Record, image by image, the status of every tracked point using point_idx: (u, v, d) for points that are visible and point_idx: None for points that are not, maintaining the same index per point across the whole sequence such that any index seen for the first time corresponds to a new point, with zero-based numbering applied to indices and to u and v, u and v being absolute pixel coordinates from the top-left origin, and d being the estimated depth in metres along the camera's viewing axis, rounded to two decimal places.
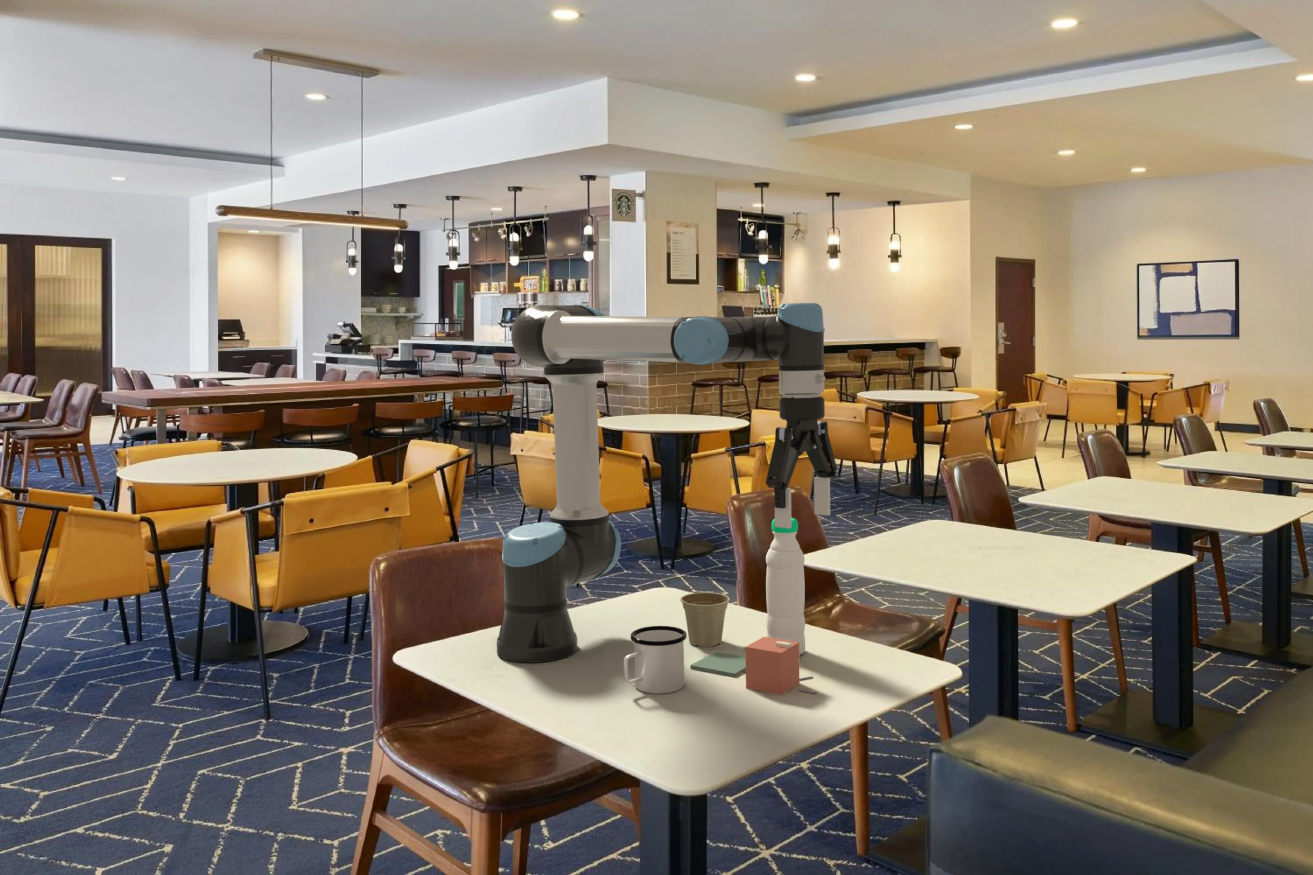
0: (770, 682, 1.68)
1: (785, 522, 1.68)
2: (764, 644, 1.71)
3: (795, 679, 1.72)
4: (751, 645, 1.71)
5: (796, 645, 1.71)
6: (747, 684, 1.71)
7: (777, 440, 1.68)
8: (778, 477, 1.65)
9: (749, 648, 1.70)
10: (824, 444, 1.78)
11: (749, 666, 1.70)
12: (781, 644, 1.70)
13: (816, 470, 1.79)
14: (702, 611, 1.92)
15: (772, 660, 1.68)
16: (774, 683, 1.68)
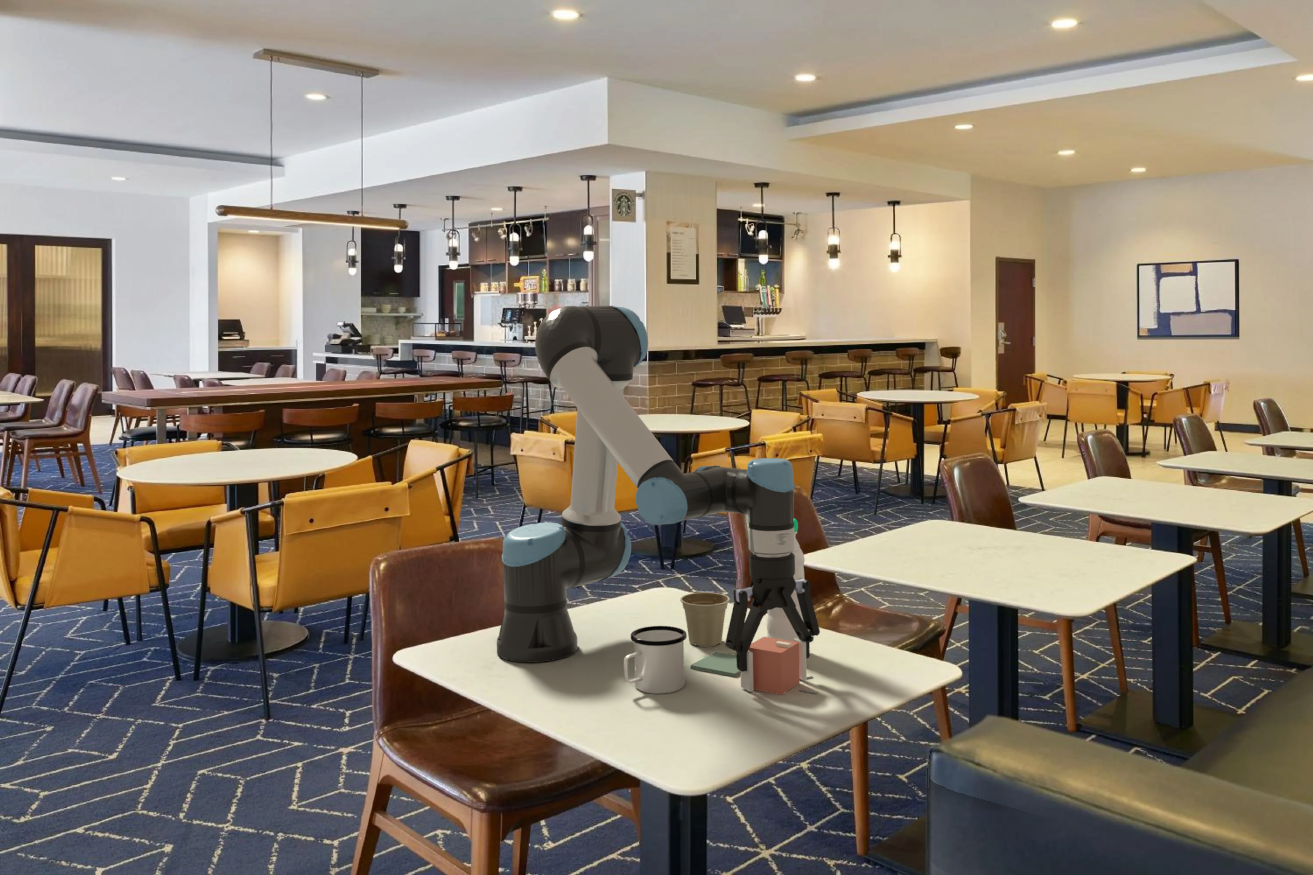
0: (770, 682, 1.68)
1: (747, 685, 1.69)
2: (764, 644, 1.71)
3: (795, 679, 1.72)
4: (751, 645, 1.71)
5: (796, 645, 1.71)
6: None
7: (735, 602, 1.68)
8: (733, 642, 1.67)
9: (749, 648, 1.70)
10: (804, 604, 1.73)
11: None
12: (781, 644, 1.70)
13: (795, 630, 1.74)
14: (702, 611, 1.92)
15: (772, 660, 1.68)
16: (774, 683, 1.68)
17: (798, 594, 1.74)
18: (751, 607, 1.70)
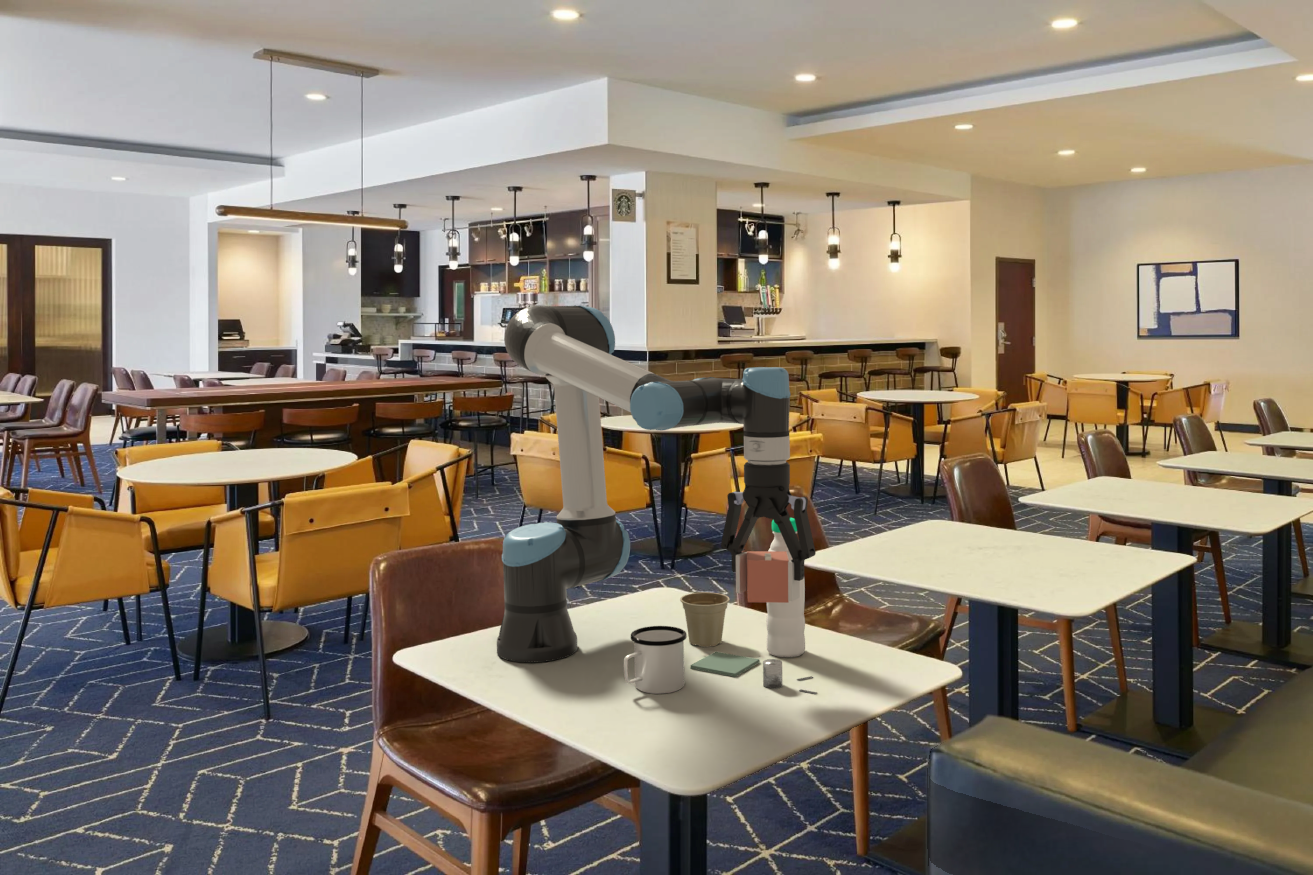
0: None
1: None
2: (763, 554, 1.72)
3: (779, 596, 1.68)
4: (753, 552, 1.73)
5: (782, 562, 1.67)
6: None
7: None
8: (722, 540, 1.74)
9: (747, 553, 1.73)
10: None
11: None
12: (764, 555, 1.69)
13: None
14: (701, 611, 1.92)
15: None
16: None
17: None
18: None
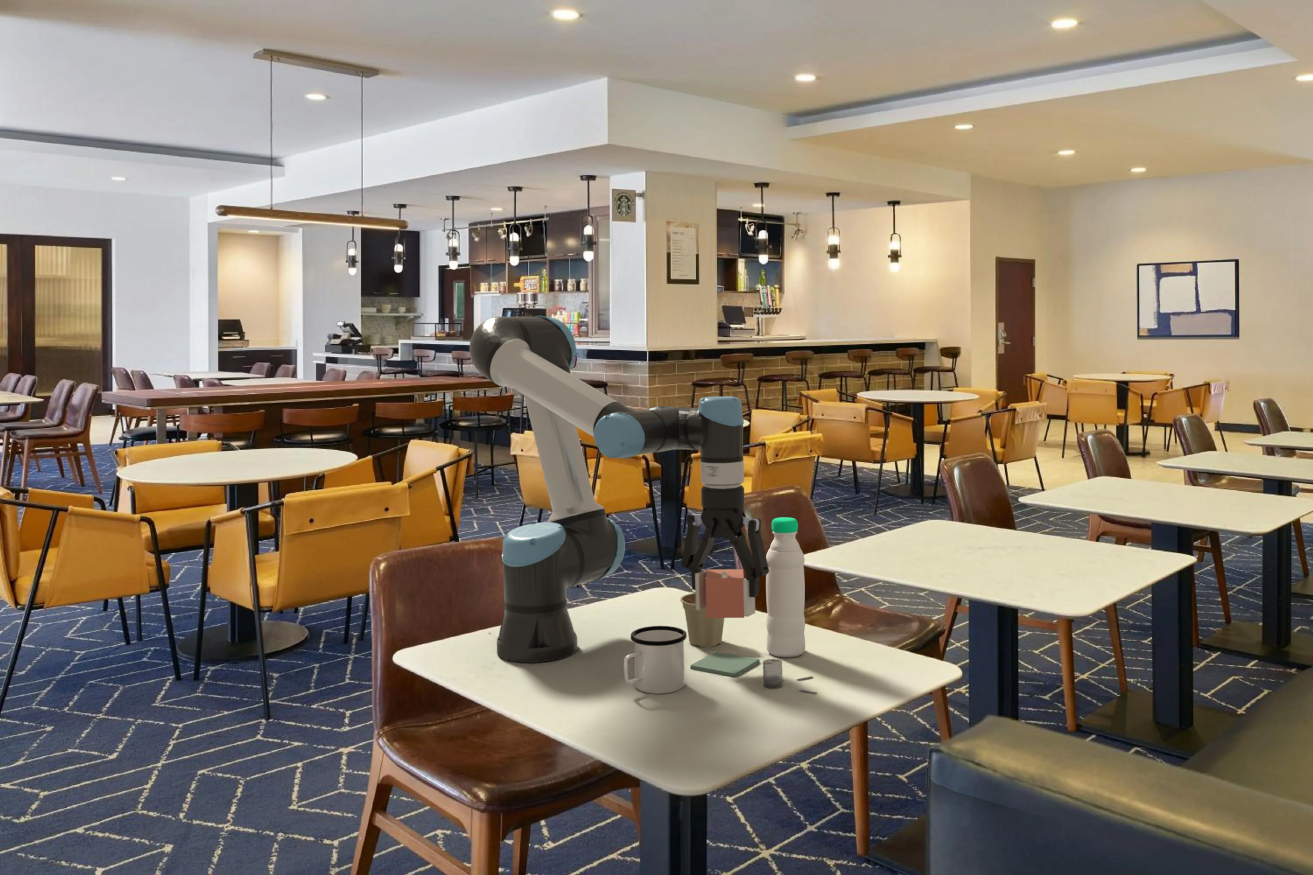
0: None
1: None
2: (721, 572, 1.82)
3: (735, 612, 1.78)
4: (712, 570, 1.84)
5: (738, 579, 1.78)
6: None
7: None
8: (682, 560, 1.84)
9: (706, 571, 1.84)
10: None
11: None
12: (721, 574, 1.79)
13: None
14: (702, 611, 1.92)
15: None
16: None
17: None
18: None
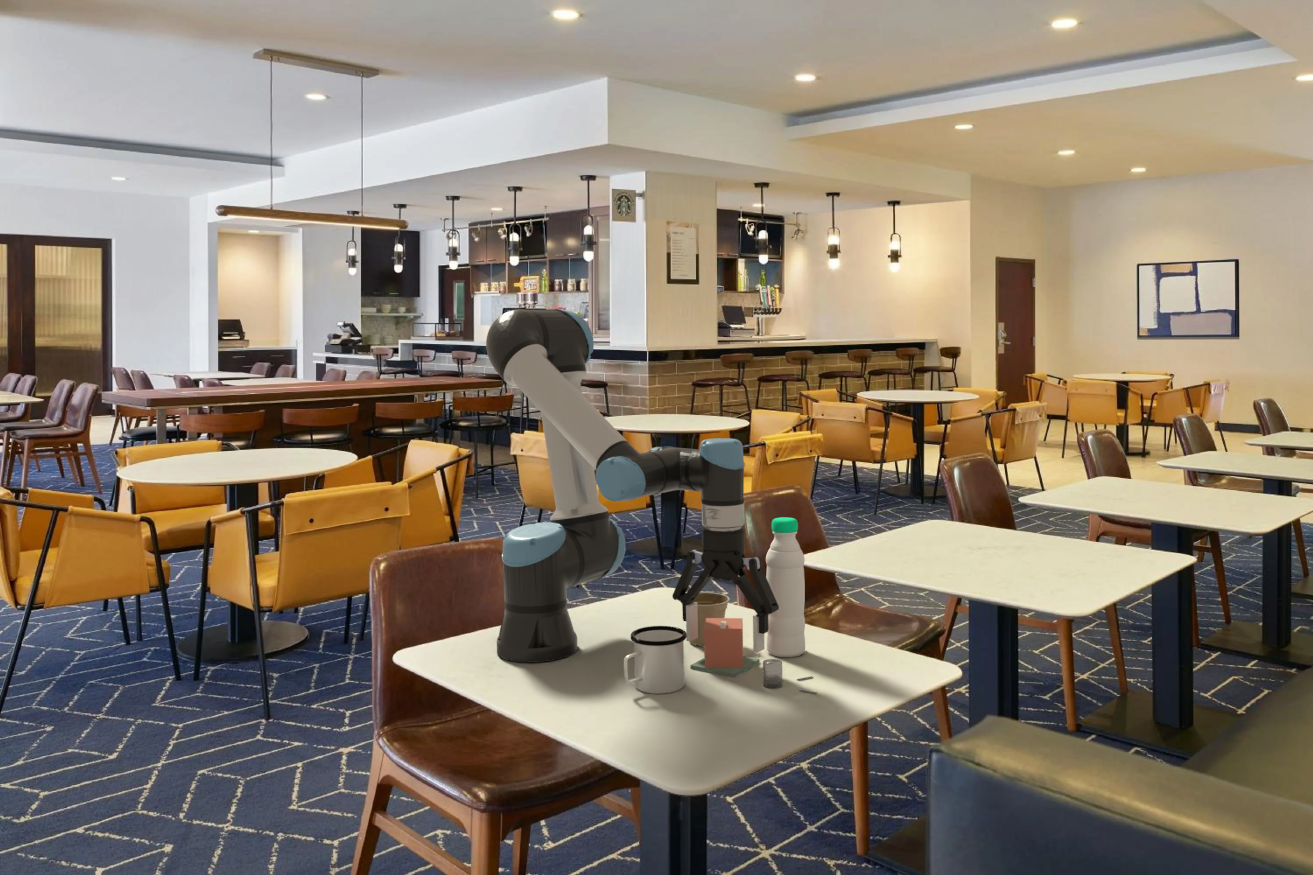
0: None
1: None
2: (720, 621, 1.83)
3: (734, 662, 1.79)
4: (712, 618, 1.85)
5: (736, 630, 1.79)
6: None
7: None
8: (674, 591, 1.86)
9: None
10: None
11: None
12: None
13: None
14: (701, 611, 1.92)
15: None
16: None
17: None
18: None
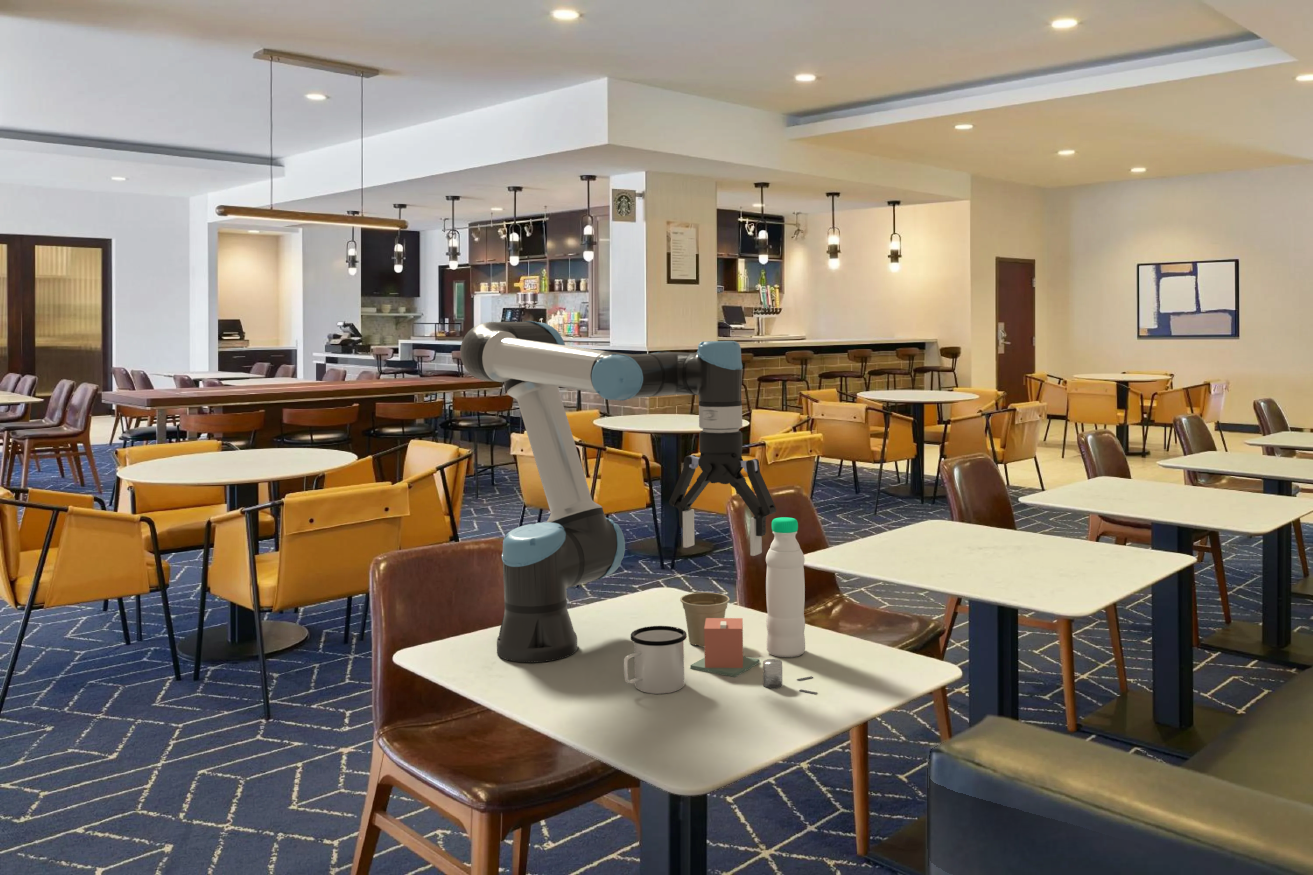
0: None
1: None
2: (720, 621, 1.83)
3: (734, 662, 1.79)
4: (712, 618, 1.85)
5: (736, 630, 1.79)
6: None
7: None
8: (671, 497, 1.84)
9: None
10: None
11: None
12: None
13: None
14: (701, 611, 1.92)
15: None
16: None
17: None
18: None
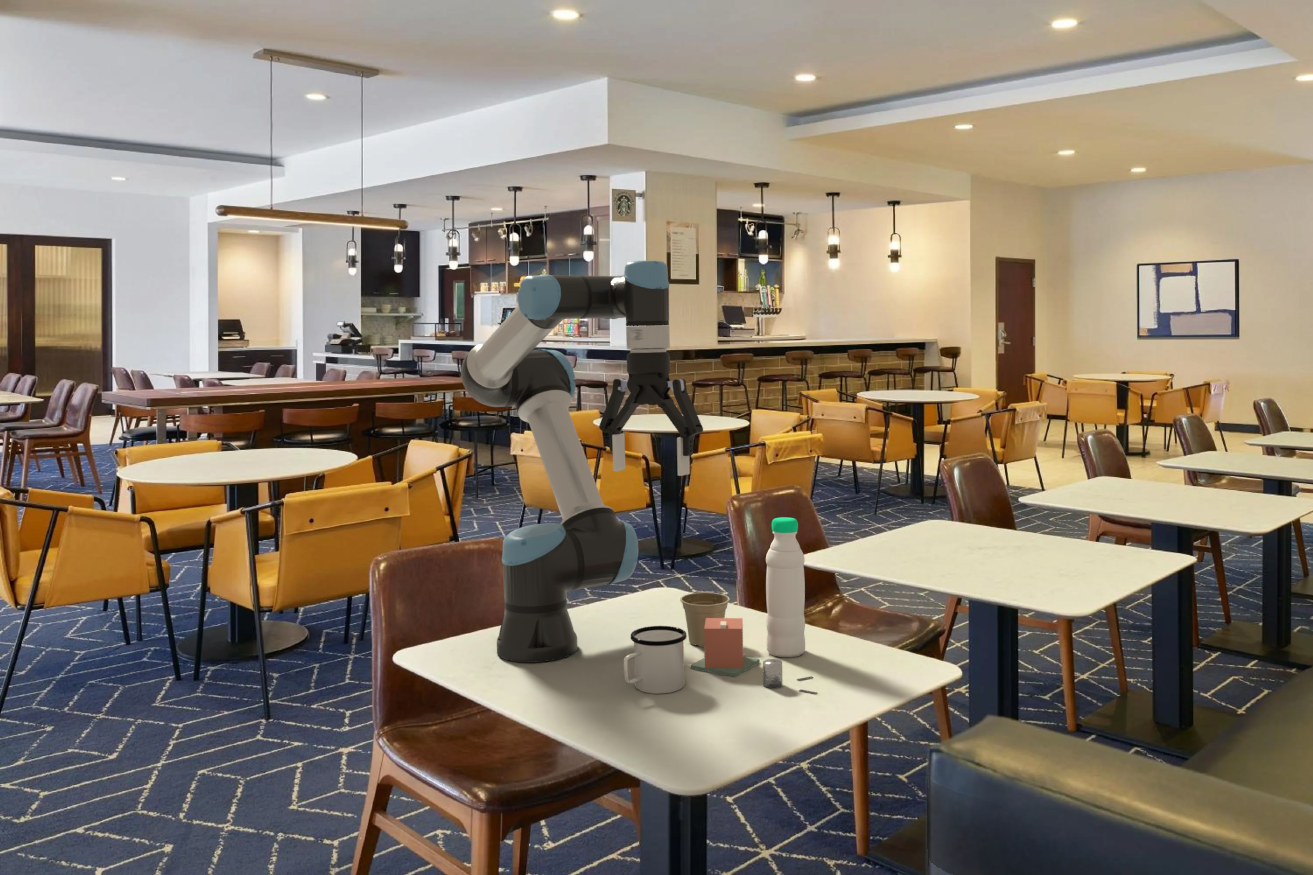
0: None
1: None
2: (720, 621, 1.83)
3: (734, 662, 1.79)
4: (712, 618, 1.85)
5: (736, 630, 1.79)
6: None
7: None
8: (601, 422, 1.84)
9: None
10: None
11: None
12: None
13: None
14: (702, 611, 1.92)
15: None
16: None
17: None
18: None
